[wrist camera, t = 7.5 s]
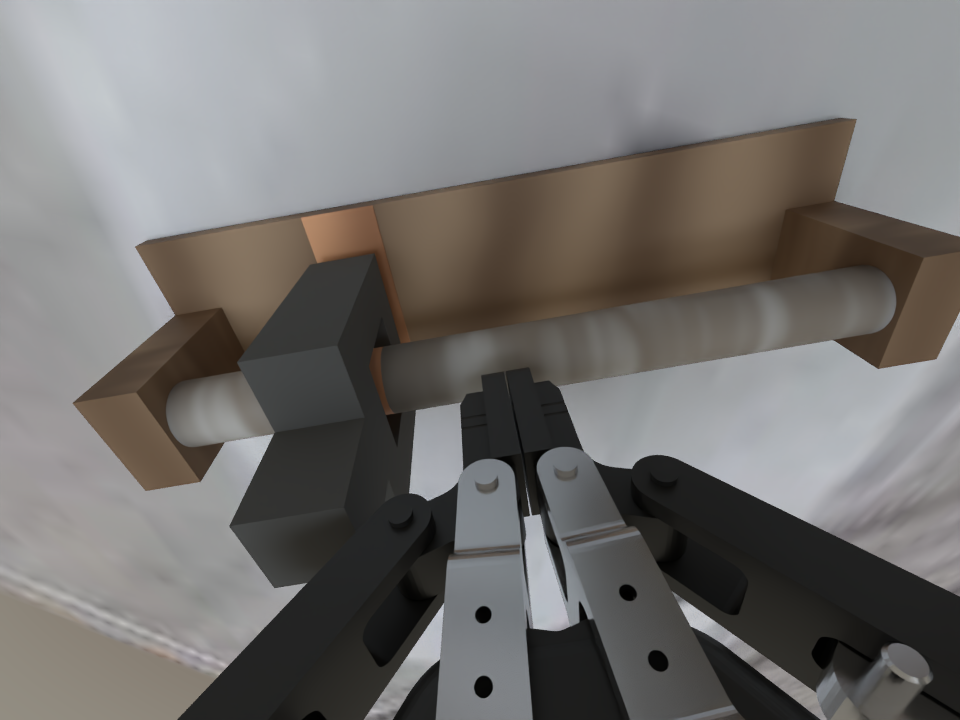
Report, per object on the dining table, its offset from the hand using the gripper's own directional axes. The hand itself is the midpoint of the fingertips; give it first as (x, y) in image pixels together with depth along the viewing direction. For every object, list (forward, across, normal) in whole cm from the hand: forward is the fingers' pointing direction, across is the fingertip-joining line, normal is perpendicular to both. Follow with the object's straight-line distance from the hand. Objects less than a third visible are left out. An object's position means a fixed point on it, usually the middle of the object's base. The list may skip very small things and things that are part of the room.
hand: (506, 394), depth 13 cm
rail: (+8, -1, 0) cm, 8 cm away
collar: (+6, +5, 0) cm, 8 cm away
